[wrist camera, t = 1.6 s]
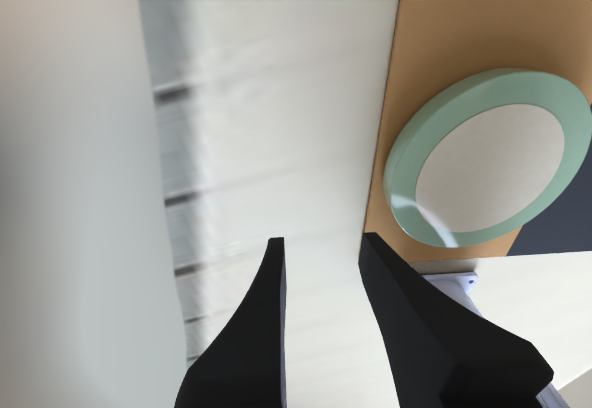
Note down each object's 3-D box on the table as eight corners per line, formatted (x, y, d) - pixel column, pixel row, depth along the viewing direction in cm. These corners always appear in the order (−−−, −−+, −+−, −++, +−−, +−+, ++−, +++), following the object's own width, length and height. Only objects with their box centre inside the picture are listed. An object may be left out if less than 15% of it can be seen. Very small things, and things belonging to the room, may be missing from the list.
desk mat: (679, 243, 27) (683, 245, 27) (358, 263, 26) (359, 265, 26) (940, -15, 16) (950, -15, 16) (400, -5, 15) (402, -5, 14)
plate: (516, 227, 24) (534, 243, 23) (370, 236, 24) (377, 253, 22) (607, 62, 17) (644, 68, 15) (399, 69, 16) (413, 75, 15)
